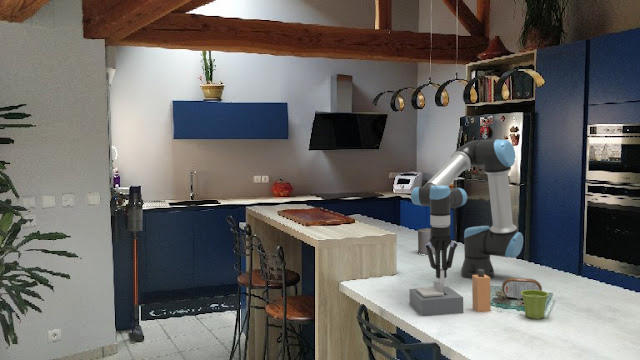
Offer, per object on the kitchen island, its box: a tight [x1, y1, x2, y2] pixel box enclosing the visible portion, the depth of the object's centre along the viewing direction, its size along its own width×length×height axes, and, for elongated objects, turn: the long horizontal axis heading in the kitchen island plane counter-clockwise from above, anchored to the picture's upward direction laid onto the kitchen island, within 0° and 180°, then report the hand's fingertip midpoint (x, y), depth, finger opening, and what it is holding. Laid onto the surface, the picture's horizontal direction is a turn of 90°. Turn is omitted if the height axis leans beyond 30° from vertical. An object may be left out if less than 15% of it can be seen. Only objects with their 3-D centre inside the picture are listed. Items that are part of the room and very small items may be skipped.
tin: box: [501, 277, 543, 298], centre depth 226 cm, size 15×3×8 cm, turn 71°
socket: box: [409, 285, 464, 317], centre depth 218 cm, size 16×16×6 cm
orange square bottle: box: [471, 269, 492, 313], centre depth 214 cm, size 5×5×16 cm
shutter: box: [415, 280, 444, 297], centre depth 217 cm, size 8×10×3 cm
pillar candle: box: [417, 227, 435, 255], centre depth 317 cm, size 10×10×15 cm
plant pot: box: [521, 290, 550, 320], centre depth 204 cm, size 9×9×9 cm
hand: (441, 286), depth 218 cm, fingers closed
